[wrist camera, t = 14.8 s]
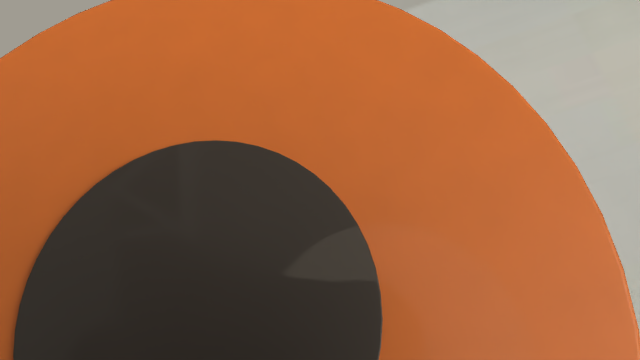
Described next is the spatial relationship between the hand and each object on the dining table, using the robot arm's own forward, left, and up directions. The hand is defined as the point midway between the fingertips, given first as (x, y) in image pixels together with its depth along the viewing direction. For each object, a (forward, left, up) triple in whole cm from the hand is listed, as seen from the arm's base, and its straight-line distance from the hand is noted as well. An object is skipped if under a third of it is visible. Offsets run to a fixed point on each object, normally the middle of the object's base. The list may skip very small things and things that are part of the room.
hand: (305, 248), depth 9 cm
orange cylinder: (0, -1, -4) cm, 4 cm away
